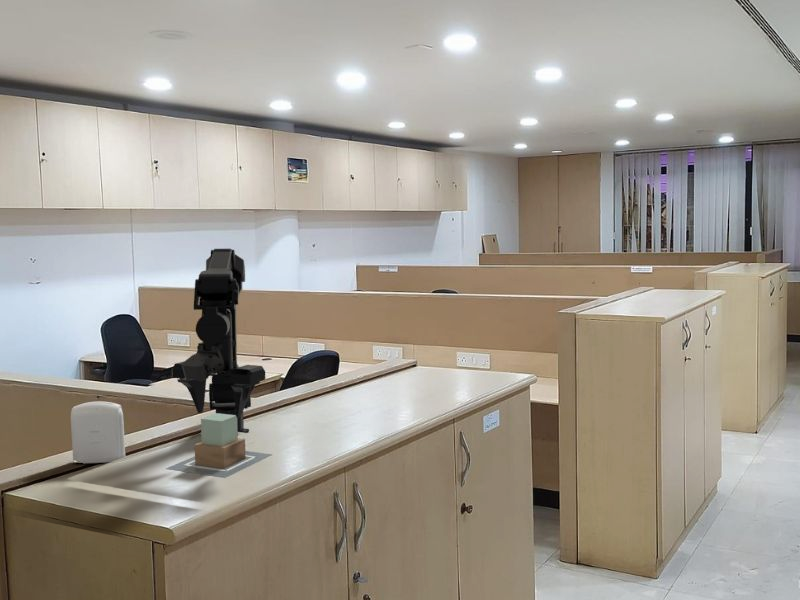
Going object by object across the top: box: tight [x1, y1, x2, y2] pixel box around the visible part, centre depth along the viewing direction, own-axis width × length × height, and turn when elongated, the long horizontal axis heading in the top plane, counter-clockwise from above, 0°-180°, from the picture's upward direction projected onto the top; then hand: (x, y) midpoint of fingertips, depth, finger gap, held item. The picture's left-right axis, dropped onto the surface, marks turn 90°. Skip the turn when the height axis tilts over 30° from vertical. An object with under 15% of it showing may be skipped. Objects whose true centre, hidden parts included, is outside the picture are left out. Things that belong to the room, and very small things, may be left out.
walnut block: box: [194, 437, 246, 468], centre depth 154 cm, size 7×7×4 cm
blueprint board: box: [165, 450, 273, 479], centre depth 155 cm, size 16×14×1 cm
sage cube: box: [200, 412, 239, 446], centre depth 154 cm, size 5×5×5 cm
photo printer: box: [70, 400, 126, 464], centre depth 158 cm, size 10×4×12 cm, turn 96°
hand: (219, 414), depth 154 cm, fingers open, 9 cm apart
